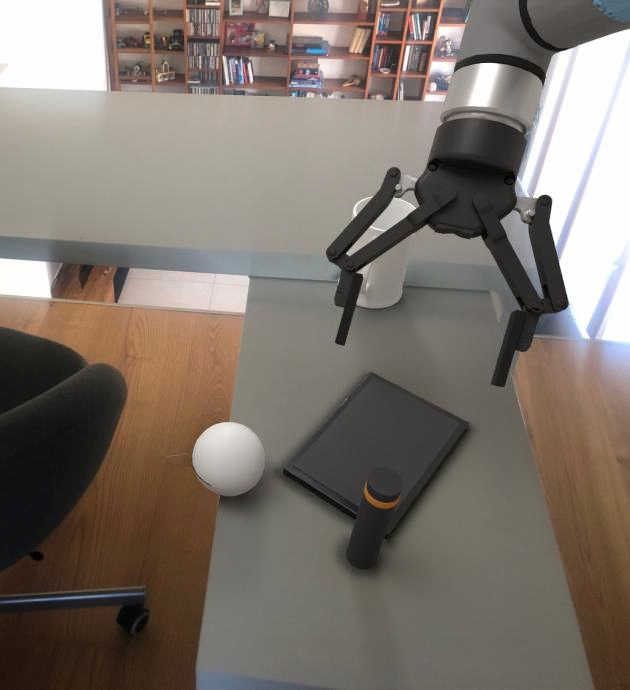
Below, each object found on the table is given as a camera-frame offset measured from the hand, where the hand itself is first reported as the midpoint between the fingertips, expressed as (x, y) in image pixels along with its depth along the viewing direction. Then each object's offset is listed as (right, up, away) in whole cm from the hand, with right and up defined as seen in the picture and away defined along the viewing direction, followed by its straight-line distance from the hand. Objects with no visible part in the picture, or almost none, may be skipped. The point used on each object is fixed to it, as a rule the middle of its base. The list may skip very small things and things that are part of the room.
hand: (415, 364), depth 61 cm
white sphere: (-17, -12, +11) cm, 24 cm away
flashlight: (-4, -18, +4) cm, 19 cm away
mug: (+4, +8, +31) cm, 33 cm away
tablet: (0, -10, +13) cm, 16 cm away
